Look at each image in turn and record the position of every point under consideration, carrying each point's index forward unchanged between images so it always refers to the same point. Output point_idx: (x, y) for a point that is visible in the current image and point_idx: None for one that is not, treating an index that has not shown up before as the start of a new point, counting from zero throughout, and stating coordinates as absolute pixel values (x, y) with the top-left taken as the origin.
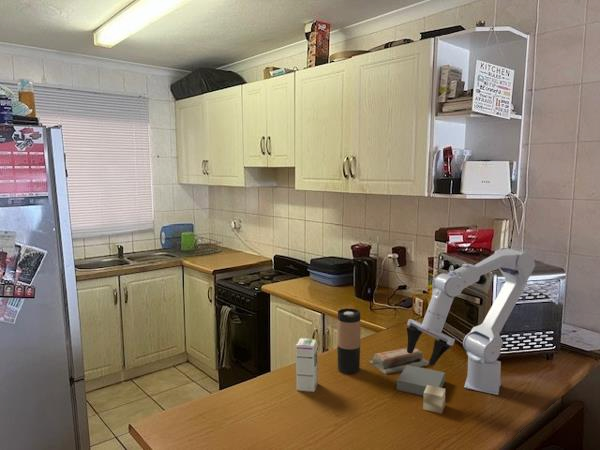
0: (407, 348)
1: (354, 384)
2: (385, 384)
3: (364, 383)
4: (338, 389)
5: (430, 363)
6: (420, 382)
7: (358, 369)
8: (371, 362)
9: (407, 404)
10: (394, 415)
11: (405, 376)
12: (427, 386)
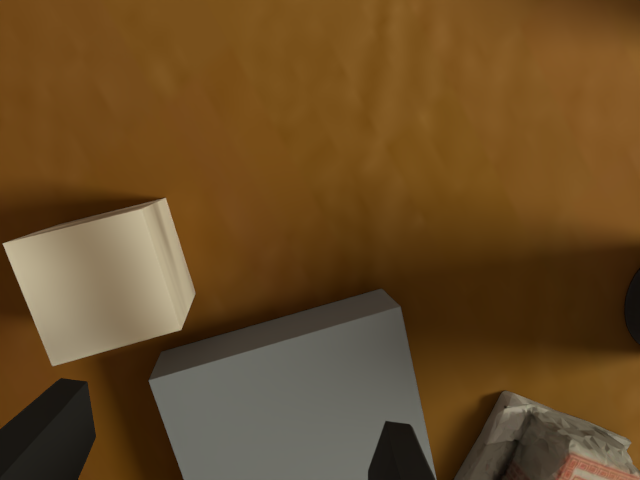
0: (422, 459)
1: (581, 182)
2: (454, 296)
3: (545, 228)
4: (623, 75)
5: (56, 387)
6: (274, 380)
7: (636, 317)
8: (615, 435)
9: (258, 185)
10: (253, 25)
11: (382, 382)
12: (167, 307)
